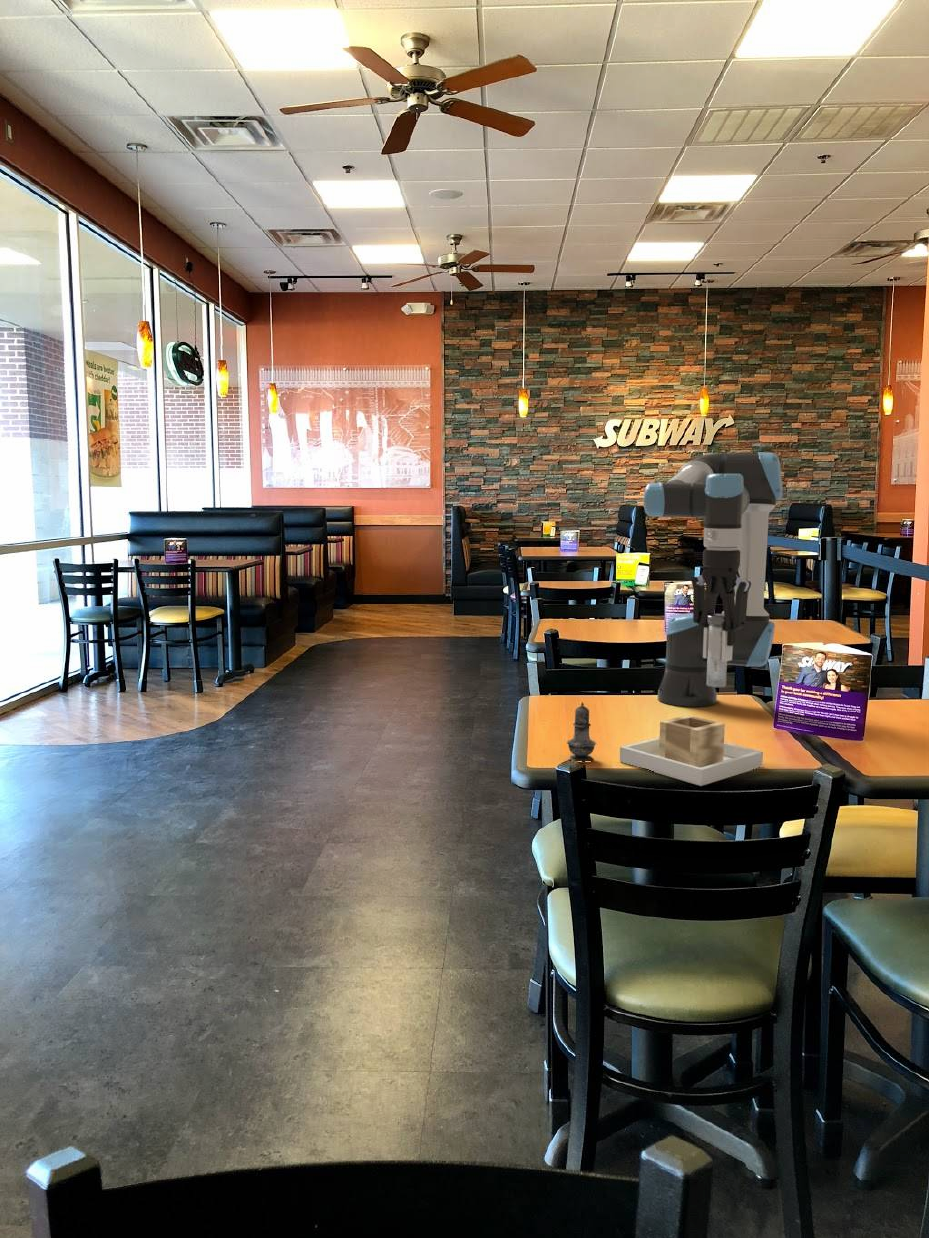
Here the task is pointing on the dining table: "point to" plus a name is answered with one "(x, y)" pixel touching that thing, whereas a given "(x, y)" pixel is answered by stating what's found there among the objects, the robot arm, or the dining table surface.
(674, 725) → the wooden box
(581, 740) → the salt shaker
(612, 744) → the dining table surface
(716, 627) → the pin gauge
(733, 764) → the tray
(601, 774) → the dining table surface
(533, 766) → the dining table surface
